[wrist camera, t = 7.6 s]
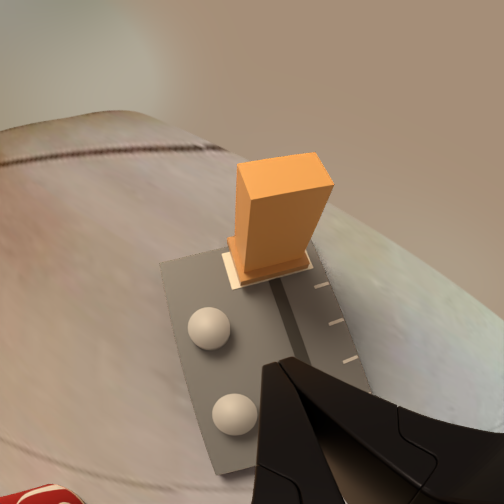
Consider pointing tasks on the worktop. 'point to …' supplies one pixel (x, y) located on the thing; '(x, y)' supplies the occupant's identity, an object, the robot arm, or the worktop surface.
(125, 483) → the worktop surface
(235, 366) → the console board
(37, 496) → the soda can
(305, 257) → the fader tab
